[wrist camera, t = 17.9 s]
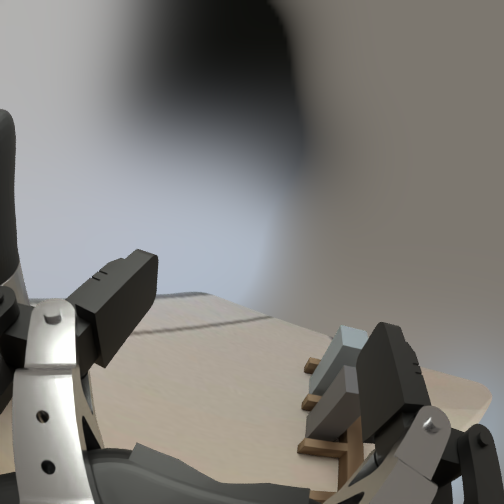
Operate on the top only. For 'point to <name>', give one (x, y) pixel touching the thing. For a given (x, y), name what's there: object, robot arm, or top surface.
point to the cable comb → (333, 444)
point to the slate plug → (337, 358)
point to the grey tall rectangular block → (335, 408)
